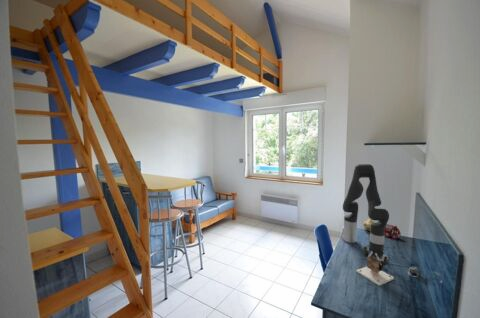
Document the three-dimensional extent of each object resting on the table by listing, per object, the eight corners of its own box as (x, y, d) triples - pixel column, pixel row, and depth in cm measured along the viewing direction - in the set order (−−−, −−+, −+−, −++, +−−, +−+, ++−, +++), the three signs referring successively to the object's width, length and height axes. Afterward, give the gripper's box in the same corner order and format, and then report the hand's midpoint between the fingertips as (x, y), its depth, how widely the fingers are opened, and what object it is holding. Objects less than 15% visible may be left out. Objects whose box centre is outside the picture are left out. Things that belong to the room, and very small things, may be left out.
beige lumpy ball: (361, 231, 193) (362, 220, 192) (363, 227, 202) (364, 216, 201) (374, 234, 187) (375, 222, 186) (375, 230, 196) (376, 219, 195)
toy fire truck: (399, 240, 176) (400, 228, 175) (382, 235, 184) (382, 224, 184) (400, 237, 181) (401, 226, 180) (383, 233, 189) (384, 222, 189)
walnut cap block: (366, 267, 130) (367, 257, 130) (373, 264, 133) (373, 255, 132) (376, 272, 125) (377, 262, 124) (383, 270, 127) (383, 260, 127)
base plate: (356, 271, 132) (356, 267, 132) (370, 266, 138) (371, 261, 138) (379, 285, 120) (379, 280, 120) (393, 279, 126) (394, 274, 125)
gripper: (361, 237, 132) (360, 262, 134) (385, 247, 119) (383, 275, 121) (369, 235, 135) (367, 260, 137) (393, 245, 122) (391, 272, 124)
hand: (375, 267), depth 129 cm, fingers closed on walnut cap block, 6 cm apart
